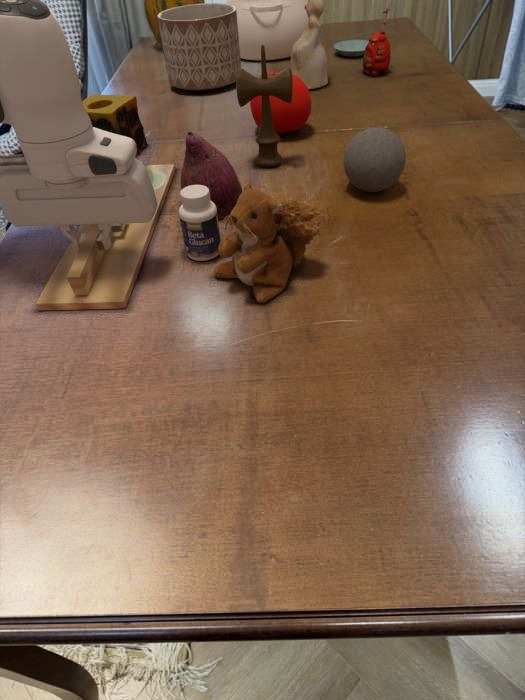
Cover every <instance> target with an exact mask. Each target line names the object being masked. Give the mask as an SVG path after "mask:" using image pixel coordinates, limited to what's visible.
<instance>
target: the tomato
mask: <svg viewBox="0 0 525 700" xmlns="http://www.w3.org/2000/svg"><path fill="white" fill-rule="evenodd" d="M281 71H282V70H280V71H279V70H278V71H270V72H267V77H271V76H274V75H276V74H278V73H279V72H281ZM258 78H262V76H261V75H259V76H258ZM292 78H293V95H292V101H291V103H286V102H284V101H282V100H281V99H279V98H277V97H274V96H269V99H270V107H271V113H272V119H273V124H274V129H275V132H276V133H277V134H283V133H290V132H294V131H296V130H297V131H298V130H299V129H300V128H301V127H303V126H304V125H305V124H306V123H307V121H308V120H309V118H310V116H311V113H312V98H311V93H310V91H309V90H308V87H307V86H306V85H305V83H304V82H303V81H302V80H301V79H300V78H299V77H298V76H296V75H294V74H292ZM249 107H250V111H251V115H252V118H253V120H254V123H255V125H256V126H257V127H258V128H259V129H260V124H261V108H262V96H258V97H255V98H254V99H252V100H251V101H250V102H249Z"/></svg>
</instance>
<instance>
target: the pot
mask: <svg viewBox="0 0 525 700" xmlns="http://www.w3.org/2000/svg"><path fill="white" fill-rule="evenodd" d="M307 3H308V0H227V1H226V4H229V5H233V6H235V7H236V11H237V23H238V35H239V48H240V59H242V60H247V61H254V62H255V61H257V62H258V61H259V62H261V46H262V45H264V47H265V55H266V62H268V61H276V60H282V59H283V60H284V59H287V58H291V54H292V48H293V45H294V43H295V42H296V41H297V40H298V39H299V38H300V37H301V35H302V34H303V32H304V30H305V29H306V27H307V24H308V22H309V18H308V15H307V13H306V9H305V8H304V7H305V5H307Z"/></svg>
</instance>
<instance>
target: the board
mask: <svg viewBox="0 0 525 700" xmlns="http://www.w3.org/2000/svg"><path fill="white" fill-rule="evenodd" d="M143 165H144V164H143ZM144 166H145V168H146V169H155V171H156V170H159V171H161V172H163V173H162V174H165V175H166V177H165V179H166V181H165V183H164V184H163V185H162V186H161V187H160V188H158V189H156V190H154V192H155V196H156V200H157V209H156V212H155V215H154V216H153V218H152V219H151V221H150V222H147V223H124V226H123V231H122V232H114V233H113V235H112V238H111V247H110V249H109V250H105V251H104V254H103V257H102V259H101V262H100V264H99V267H98V270H97V272H96V275H95V277H94V280H93V283H92V285H91V288H90V290H89V293H88V295H75V294H74V292H73V290H72V288H71V286H70V284H69V282H68V279H67V275H68V273H69V271H70V268H71V266H72V264H73V261H74V259H75V257H76V255H77V252H78V251H77V250H76V248H75V245H74V242H73V241H71V240H70V242H69V244H68V246H67V247H66V249H65V251H64V252H63V254H62V256H61V258H60V259H59V262H58V263H57V265H56V267H55V269H54V270H53V272H52V274H51V276H50V277H49V278H48V280H47V283H46V284H45V286H44V288H43V289H42V291H41V293H40V294H39V297H38V299H37V300H36V302H35V306H36V308H37V311H40V312H41V311H43V312H44V311H75V310H76V311H77V310H79V311H80V310H81V311H82V310H115V309H116V310H117V309H118V310H119V309H127V306H128V303H129V301H130V298H131V295H132V293H133V289H134V287H135V284H136V281H137V278H138V275H139V273H140V270H141V267H142V265H143V262H144V258H145V256H146V253H147V250H148V247H149V245H150V242H151V239H152V236H153V234H154V230H155V228H156V225H157V223H158V220H159V217H160V214H161V212H162V209H163V205H164V203H165V200H166V197H167V194H168V192H169V189H170V186H171V184H172V181H173V178H174V175H175V173H176V164H175V163H167V164H166V163H165V164H145V165H144ZM148 173H149V172H148ZM151 174H152V173H151ZM154 174H155V173H154ZM157 174H158V173H157ZM151 177H152V178H153V177H154V176H151ZM156 177H158V176H156ZM160 177H161V175H160ZM160 177H159V178H160ZM163 177H164V176H163ZM152 178H151V180H152V181H153V179H154V178H153V179H152ZM163 179H164V178H163ZM163 179H161V180H162V181H163ZM156 180H159V179H157V178H156ZM152 181H151V182H152ZM159 181H160V180H159ZM159 181H158V182H159ZM154 182H155V180H154ZM158 182H157V183H156V184H158ZM160 183H161V181H160ZM154 184H155V183H154ZM155 187H156V186H155ZM155 187H154V188H155ZM88 226H89V224H86V225H78V228H77V230H78V231H79V232H80V234H86V232H87V230H88Z"/></svg>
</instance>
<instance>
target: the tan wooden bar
mask: <svg viewBox="0 0 525 700" xmlns="http://www.w3.org/2000/svg"><path fill="white" fill-rule="evenodd" d="M123 226H124V223H117V224H112V227H111V230H110V233H109V237H110V240H111V238H112V235H113V233H114V232H122V231H123ZM103 231H104V229H103V230H100V229H99V227H98V224H89V226H88V230H87V232H86V234H85V236H84V239H83V241H82V243H81V246H80V248H79V250H78V252H77V255H76V257H75V259H74V261H73V264H72V266H71V268H70V271H69V273H68V275H67V279H68V282H69V284H70V286H71V288H72V290H73V292H74V294H75V295H88V293H89V290H90V288H91V285H92V283H93V280H94V277H95V275H96V272H97V270H98V267H99V264H100V262H101V259H102V257H103V254H104V251H105V250H99V249H98V245H97V244H96V239H97V238H98V235H99V234H103Z"/></svg>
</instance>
